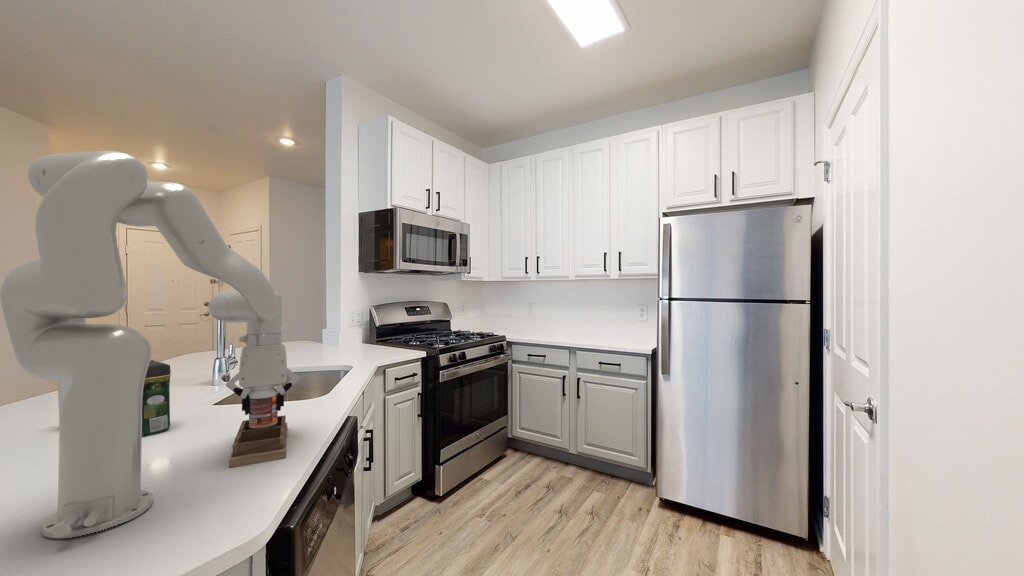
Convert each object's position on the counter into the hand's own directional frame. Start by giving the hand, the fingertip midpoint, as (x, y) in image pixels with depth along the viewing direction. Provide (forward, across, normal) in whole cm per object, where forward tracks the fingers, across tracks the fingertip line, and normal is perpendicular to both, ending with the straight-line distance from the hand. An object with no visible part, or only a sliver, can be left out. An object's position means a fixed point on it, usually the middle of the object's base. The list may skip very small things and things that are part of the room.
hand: (263, 410), depth 99 cm
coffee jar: (+7, -27, +21) cm, 35 cm away
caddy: (+7, 0, -4) cm, 8 cm away
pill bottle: (+4, 0, 0) cm, 4 cm away
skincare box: (+7, -43, +33) cm, 54 cm away
